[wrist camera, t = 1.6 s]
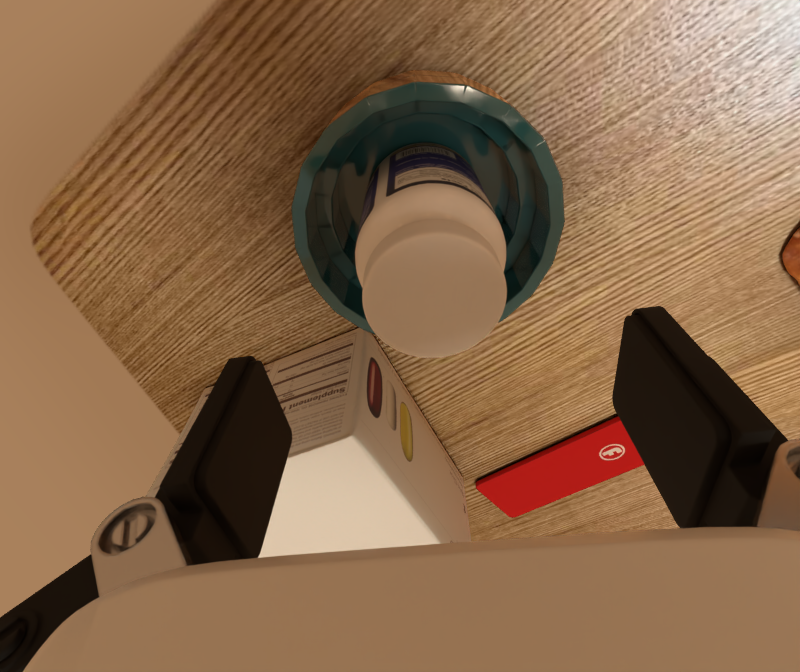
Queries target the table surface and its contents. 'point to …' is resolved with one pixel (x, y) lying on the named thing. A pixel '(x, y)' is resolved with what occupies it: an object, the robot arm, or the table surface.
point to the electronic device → (562, 469)
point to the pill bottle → (430, 253)
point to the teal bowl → (426, 123)
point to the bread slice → (793, 256)
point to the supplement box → (354, 457)
